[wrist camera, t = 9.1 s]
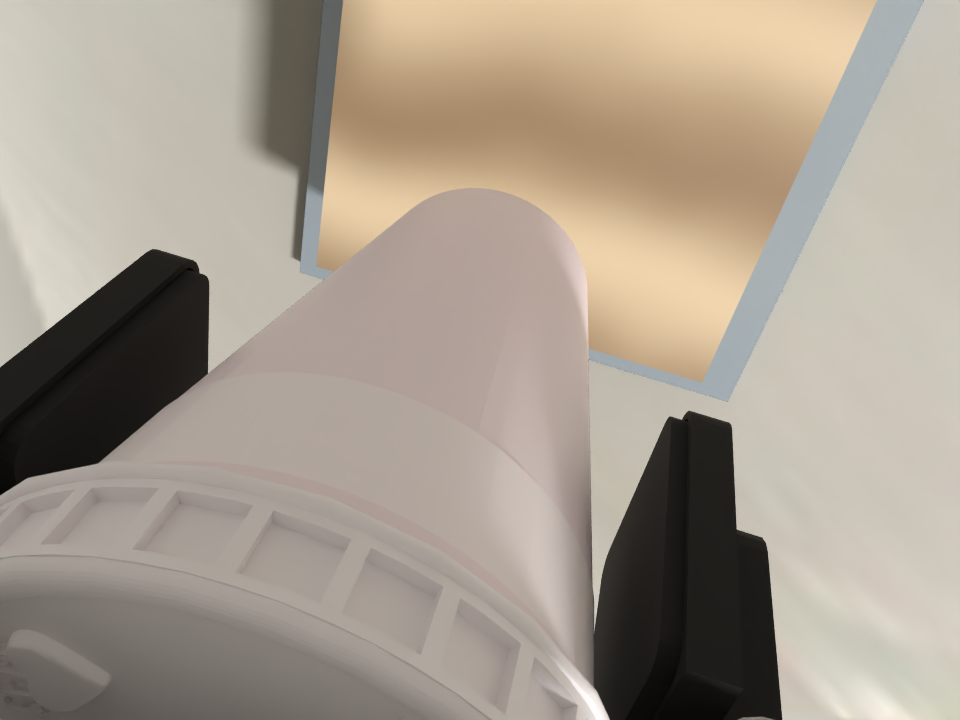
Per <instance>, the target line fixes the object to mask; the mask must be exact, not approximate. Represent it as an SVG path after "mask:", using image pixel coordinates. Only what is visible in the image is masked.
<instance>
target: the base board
mask: <svg viewBox="0 0 960 720" xmlns="http://www.w3.org/2000/svg"><path fill="white" fill-rule="evenodd" d="M923 2H924V0H877V1H876V4H875V6H874V8H873V10H872V12H871V15H870V17H869V19H868V21H867V23H866V25H865V28H864V30H863V32H862V34H861V36H860V39H859V41H858V43H857V45H856V47H855V50H854V52H853V54H852V56H851V58H850V60H849V63H848V65H847V67H846V69H845V71H844V74H843V76H842V78H841V80H840V82H839V84H838V87H837V89H836V91H835V93H834V95H833V98H832V100H831V102H830V104H829V106H828V109H827V111H826V113H825V115H824V117H823V119H822V122H821V124H820V126H819V128H818V130H817V133H816V135H815V137H814V139H813V141H812V143H811V146H810V148H809V150H808V152H807V154H806V157H805V159H804V161H803V163H802V165H801V168H800V170H799V172H798V174H797V176H796V178H795V181H794V183H793V185H792V187H791V189H790V192H789V194H788V196H787V198H786V200H785V203H784V205H783V207H782V209H781V211H780V213H779V216H778V218H777V220H776V222H775V224H774V227H773V229H772V231H771V233H770V235H769V237H768V240H767V242H766V244H765V246H764V248H763V251H762V253H761V255H760V257H759V259H758V262H757V264H756V266H755V268H754V270H753V272H752V275H751V277H750V279H749V281H748V283H747V286H746V288H745V290H744V292H743V294H742V296H741V299H740V301H739V303H738V305H737V307H736V310H735V312H734V314H733V316H732V318H731V321H730V323H729V325H728V327H727V329H726V331H725V334H724V336H723V338H722V340H721V342H720V345H719V347H718V349H717V351H716V353H715V356H714V358H713V360H712V362H711V364H710V366H709V369H708V371H707V373H706V375H705V377H704V380H703V382H702V383H701V382H698V381H695V380H691V379H688V378H685V377H681V376H678V375H675V374H671V373H668V372H665V371H661V370H658V369H655V368H652V367H648V366H645V365H642V364H638V363H635V362H632V361H628V360H625V359H622V358H618V357H615V356H612V355H608V354H605V353H602V352H598V351H595V350H592V349H589V348H588V355H589V360H591V361H594V362H597V363H601V364H604V365H607V366H611V367H614V368H617V369H621V370H624V371H627V372H630V373H634V374H637V375H640V376H644V377H647V378H650V379H654V380H657V381H660V382H664V383H667V384H670V385H673V386H677V387H680V388H683V389H687V390H690V391H693V392H697V393H700V394H703V395H706V396H710V397H713V398H716V399H720V400H723V401H726V402H728V400H729V398H730V396H731V394H732V392H733V390H734V388H735V386H736V384H737V382H738V380H739V378H740V376H741V374H742V372H743V370H744V368H745V366H746V364H747V361H748V359H749V357H750V355H751V353H752V351H753V349H754V347H755V345H756V343H757V341H758V339H759V337H760V335H761V333H762V331H763V329H764V327H765V325H766V323H767V321H768V319H769V316H770V314H771V312H772V310H773V308H774V306H775V304H776V302H777V300H778V298H779V296H780V294H781V292H782V290H783V288H784V286H785V284H786V282H787V280H788V278H789V276H790V274H791V271H792V269H793V267H794V265H795V263H796V261H797V259H798V257H799V255H800V253H801V251H802V249H803V247H804V245H805V243H806V241H807V239H808V237H809V235H810V233H811V231H812V229H813V226H814V224H815V222H816V220H817V218H818V216H819V214H820V212H821V210H822V208H823V206H824V204H825V202H826V200H827V198H828V196H829V194H830V192H831V190H832V188H833V186H834V184H835V181H836V179H837V177H838V175H839V173H840V171H841V169H842V167H843V165H844V163H845V161H846V159H847V157H848V155H849V153H850V151H851V149H852V147H853V145H854V143H855V141H856V139H857V137H858V134H859V132H860V130H861V128H862V126H863V124H864V122H865V120H866V118H867V116H868V114H869V112H870V110H871V108H872V106H873V104H874V102H875V100H876V98H877V96H878V94H879V92H880V89H881V87H882V85H883V83H884V81H885V79H886V77H887V75H888V73H889V71H890V69H891V67H892V65H893V63H894V61H895V59H896V57H897V55H898V53H899V51H900V49H901V47H902V44H903V42H904V40H905V38H906V36H907V34H908V32H909V30H910V28H911V26H912V24H913V22H914V20H915V18H916V16H917V14H918V12H919V10H920V8H921V6H922V4H923ZM342 7H343V0H323V11H322V23H321V34H320V46H319V57H318V68H317V80H316V91H315V103H314V114H313V125H312V137H311V148H310V159H309V171H308V182H307V194H306V205H305V216H304V228H303V239H302V251H301V262H300V273H303V274H307V275H310V276H313V277H317V278H320V279H323V280H324V279H326V278H327V277H328V276H329V275H331V274H332V273H333V271H330V270H327V269H323V268H320V267H317V266H316V265H317V255H318V245H319V235H320V225H321V215H322V205H323V195H324V185H325V175H326V165H327V156H328V146H329V136H330V126H331V116H332V106H333V96H334V86H335V76H336V66H337V56H338V46H339V37H340V27H341V17H342Z"/></svg>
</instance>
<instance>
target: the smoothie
mask: <svg viewBox="0 0 960 720" xmlns="http://www.w3.org/2000/svg"><path fill="white" fill-rule="evenodd" d="M0 720H610V719H609V717H608V714H607V712H606V710H605V708H604V706H603V704H602V701H601V699H600V697H599V695H598V693H597V691H596V689H595V688H594V595H593V588H592V531H591V472H590V414H589V355H588V297H587V280H586V274H585V270H584V266H583V263H582V260H581V258H580V256H579V253H578V251H577V249H576V248H575V246H574V244H573V242H572V241H571V239H570V238H569V237H568V235H567V234H566V232H565V231H564V230H563V229H562V228H561V227H560V225H559V224H558V223H557V222H555V221H554V220H553V219H552V218H551V217H550V216H549V215H548V214H546V213H545V212H544V211H542V210H541V209H539V208H538V207H536V206H535V205H533V204H531V203H529V202H528V201H526V200H524V199H522V198H519V197H517V196H514V195H511V194H508V193H505V192H502V191H497V190H492V189H484V188H463V189H455V190H450V191H446V192H443V193H439V194H437V195H434V196H432V197H430V198H428V199H426V200H424V201H422V202H421V203H419V204H418V205H416V206H415V207H413V208H412V209H411V210H410V211H408V212H407V213H406V214H405V215H403V216H402V217H401V218H400V219H398V220H397V221H396V222H395V223H394V224H392V225H391V226H390V227H389V228H387V229H386V230H385V231H384V232H382V233H381V234H380V235H379V236H378V237H376V238H375V239H374V240H373V241H371V242H370V243H369V244H368V245H366V246H365V247H364V248H363V249H361V250H360V251H359V252H358V253H357V254H355V255H354V256H353V257H352V258H350V259H349V260H348V261H347V262H345V263H344V264H343V265H342V266H340V267H339V268H338V269H337V270H336V271H334V272H333V273H332V274H331V275H329V276H328V277H327V278H326V279H324V280H323V281H322V282H321V283H320V284H318V285H317V286H316V287H315V288H313V289H312V290H311V291H310V292H308V293H307V294H306V295H305V296H303V297H302V298H301V299H300V300H299V301H297V302H296V303H295V304H294V305H292V306H291V307H290V308H289V309H287V310H286V311H285V312H284V313H283V314H281V315H280V316H279V317H278V318H276V319H275V320H274V321H273V322H271V323H270V324H269V325H268V326H266V327H265V328H264V329H263V330H262V331H260V332H259V333H258V334H257V335H255V336H254V337H253V338H252V339H250V340H249V341H248V342H247V343H245V344H244V345H243V346H242V347H241V348H239V349H238V350H237V351H236V352H234V353H233V354H232V355H231V356H229V357H228V358H227V359H226V360H225V361H223V362H222V363H221V364H220V365H218V366H217V367H216V368H215V369H213V370H212V371H211V372H210V373H208V374H207V375H206V376H205V377H204V378H202V379H201V380H200V381H199V382H197V383H196V384H195V385H194V386H192V387H191V388H190V389H189V390H187V391H186V392H185V393H184V394H183V395H181V396H180V397H179V398H178V399H176V400H175V401H173V402H172V403H170V404H168V405H167V406H166V407H164V408H163V409H162V410H161V411H160V412H158V413H157V414H156V415H155V416H154V417H152V418H151V419H150V420H149V421H148V422H147V423H145V424H144V425H143V426H142V427H141V428H139V429H138V430H137V431H136V432H135V433H134V434H132V435H131V436H130V437H129V438H128V439H126V440H125V441H124V442H123V443H122V444H121V445H119V446H118V447H117V448H116V449H115V450H113V451H112V452H111V453H110V454H109V455H108V456H106V457H105V458H104V459H103V460H102V461H100V462H99V463H98V464H94V465H89V466H84V467H79V468H74V469H69V470H64V471H59V472H54V473H50V474H45V475H40V476H35V477H30V478H27V479H25V480H24V481H22V482H21V483H19V484H17V485H16V486H14V487H13V488H11V489H10V490H8V491H6V492H5V493H3V494H2V495H0Z"/></svg>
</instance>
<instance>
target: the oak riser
mask: <svg viewBox="0 0 960 720" xmlns="http://www.w3.org/2000/svg"><path fill="white" fill-rule="evenodd" d="M876 1H877V0H343V7H342V17H341V27H340V37H339V46H338V56H337V66H336V76H335V86H334V96H333V106H332V116H331V126H330V136H329V146H328V156H327V165H326V175H325V185H324V195H323V205H322V215H321V225H320V235H319V245H318V255H317V265H316V266H317V267H320V268H323V269H327V270H330V271H333V272H334V271H336V270H337V269H338V268H339V267H340V266H342V265H343V264H344V263H345V262H347V261H348V260H349V259H350V258H352V257H353V256H354V255H355V254H357V253H358V252H359V251H360V250H361V249H363V248H364V247H365V246H366V245H368V244H369V243H370V242H371V241H373V240H374V239H375V238H376V237H378V236H379V235H380V234H381V233H382V232H384V231H385V230H386V229H387V228H389V227H390V226H391V225H392V224H394V223H395V222H396V221H397V220H398V219H400V218H401V217H402V216H403V215H405V214H406V213H407V212H408V211H410V210H411V209H412V208H413V207H415V206H416V205H418V204H419V203H421V202H422V201H424V200H426V199H428V198H430V197H432V196H434V195H437V194H439V193H443V192H446V191H450V190H455V189H463V188H484V189H492V190H497V191H502V192H505V193H508V194H511V195H514V196H517V197H519V198H522V199H524V200H526V201H528V202H529V203H531V204H533V205H535V206H536V207H538V208H539V209H541V210H542V211H544V212H545V213H546V214H548V215H549V216H550V217H551V218H552V219H553V220H554V221H555V222H557V223H558V224H559V225H560V227H561V228H562V229H563V230H564V231H565V232H566V234H567V235H568V237H569V238H570V239H571V241H572V242H573V244H574V246H575V248H576V249H577V251H578V253H579V256H580V258H581V260H582V263H583V266H584V270H585V274H586V280H587V297H588V348H589V349H592V350H595V351H598V352H602V353H605V354H608V355H612V356H615V357H618V358H622V359H625V360H628V361H632V362H635V363H638V364H642V365H645V366H648V367H652V368H655V369H658V370H661V371H665V372H668V373H671V374H675V375H678V376H681V377H685V378H688V379H691V380H695V381H698V382H701V383H702V382H703V380H704V377H705V375H706V373H707V371H708V369H709V366H710V364H711V362H712V360H713V358H714V356H715V353H716V351H717V349H718V347H719V345H720V342H721V340H722V338H723V336H724V334H725V331H726V329H727V327H728V325H729V323H730V321H731V318H732V316H733V314H734V312H735V310H736V307H737V305H738V303H739V301H740V299H741V296H742V294H743V292H744V290H745V288H746V286H747V283H748V281H749V279H750V277H751V275H752V272H753V270H754V268H755V266H756V264H757V262H758V259H759V257H760V255H761V253H762V251H763V248H764V246H765V244H766V242H767V240H768V237H769V235H770V233H771V231H772V229H773V227H774V224H775V222H776V220H777V218H778V216H779V213H780V211H781V209H782V207H783V205H784V203H785V200H786V198H787V196H788V194H789V192H790V189H791V187H792V185H793V183H794V181H795V178H796V176H797V174H798V172H799V170H800V168H801V165H802V163H803V161H804V159H805V157H806V154H807V152H808V150H809V148H810V146H811V143H812V141H813V139H814V137H815V135H816V133H817V130H818V128H819V126H820V124H821V122H822V119H823V117H824V115H825V113H826V111H827V109H828V106H829V104H830V102H831V100H832V98H833V95H834V93H835V91H836V89H837V87H838V84H839V82H840V80H841V78H842V76H843V74H844V71H845V69H846V67H847V65H848V63H849V60H850V58H851V56H852V54H853V52H854V50H855V47H856V45H857V43H858V41H859V39H860V36H861V34H862V32H863V30H864V28H865V25H866V23H867V21H868V19H869V17H870V15H871V12H872V10H873V8H874V6H875V4H876Z"/></svg>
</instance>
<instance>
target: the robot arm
mask: <svg viewBox="0 0 960 720" xmlns="http://www.w3.org/2000/svg"><path fill="white" fill-rule="evenodd" d="M208 331H209V280H208V278H207V276H205V275H203V274H200V273H199V268H198V265H197V263H196V262H195V261H193V260H190V259H187V258H183V257H180V256H177V255H174V254H170V253H167V252H164V251H160V250H156V249H152V250H150V251H148V252H147V253H145V254H144V255H143V256H141V257H140V258H139V259H138V260H136V261H135V262H134V263H133V264H131V265H130V266H129V267H127V268H126V269H125V270H124V271H122V272H121V273H120V274H119V275H117V276H116V277H115V278H113V279H112V280H111V281H110V282H108V283H107V284H106V285H105V286H103V287H102V288H101V289H99V290H98V291H97V292H96V293H94V294H93V295H92V296H91V297H89V298H88V299H87V300H85V301H84V302H83V303H82V304H80V305H79V306H78V307H76V308H75V309H74V310H73V311H71V312H70V313H69V314H68V315H66V316H65V317H64V318H62V319H61V320H60V321H59V322H57V323H56V324H55V325H54V326H52V327H51V328H50V329H48V330H47V331H46V332H45V333H43V334H42V335H41V336H40V337H38V338H37V339H36V340H35V341H33V342H32V343H31V344H29V345H28V346H27V347H26V348H24V349H23V350H22V351H20V352H19V353H18V354H17V355H15V356H14V357H13V358H12V359H11V360H9V361H8V362H6V363H5V364H4V365H3V366H1V367H0V495H2V494H3V493H5V492H6V491H8V490H10V489H11V488H13V487H14V486H16V485H17V484H19V483H21V482H22V481H24V480H25V479H27V478H30V477H35V476H40V475H45V474H50V473H54V472H59V471H64V470H69V469H74V468H79V467H84V466H89V465H94V464H98V463H99V462H100V461H102V460H103V459H104V458H105V457H106V456H108V455H109V454H110V453H111V452H112V451H113V450H115V449H116V448H117V447H118V446H119V445H121V444H122V443H123V442H124V441H125V440H126V439H128V438H129V437H130V436H131V435H132V434H134V433H135V432H136V431H137V430H138V429H139V428H141V427H142V426H143V425H144V424H145V423H147V422H148V421H149V420H150V419H151V418H152V417H154V416H155V415H156V414H157V413H158V412H160V411H161V410H162V409H163V408H164V407H166V406H167V405H168V404H170V403H172V402H173V401H175V400H176V399H178V398H179V397H180V396H181V395H183V394H184V393H185V392H186V391H187V390H189V389H190V388H191V387H192V386H194V385H195V384H196V383H197V382H199V381H200V380H201V379H202V378H204V377H205V376H206V375H207V374H208ZM594 688H595V689H596V691H597V693H598V695H599V697H600V699H601V701H602V704H603V706H604V708H605V710H606V712H607V714H608V717H609V719H610V720H782V711H781V700H780V688H779V677H778V665H777V653H776V642H775V630H774V619H773V607H772V596H771V584H770V572H769V561H768V551H767V546H766V543H765V541H764V540H763V538H761V537H758V536H755V535H752V534H749V533H745V532H742V531H739V530H737V529H736V507H735V485H734V463H733V441H732V427H731V424H730V423H728V422H725V421H721V420H718V419H715V418H712V417H708V416H705V415H702V414H698V413H695V412H692V411H688V412H687V413H686V414H685V415H684V417H683V419H682V420H680V419H677V418H674V417H669V418H668V419H667V421H666V423H665V425H664V427H663V429H662V432H661V434H660V436H659V438H658V441H657V443H656V445H655V448H654V450H653V452H652V454H651V457H650V459H649V461H648V463H647V466H646V468H645V470H644V473H643V475H642V477H641V479H640V482H639V484H638V486H637V488H636V491H635V493H634V495H633V498H632V500H631V502H630V504H629V507H628V509H627V511H626V514H625V516H624V518H623V520H622V523H621V525H620V527H619V529H618V532H617V534H616V536H615V539H614V541H613V543H612V545H611V548H610V550H609V553H608V555H607V558H606V561H605V565H604V569H603V573H602V579H601V587H600V594H599V602H598V609H597V617H596V624H595V631H594Z"/></svg>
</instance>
